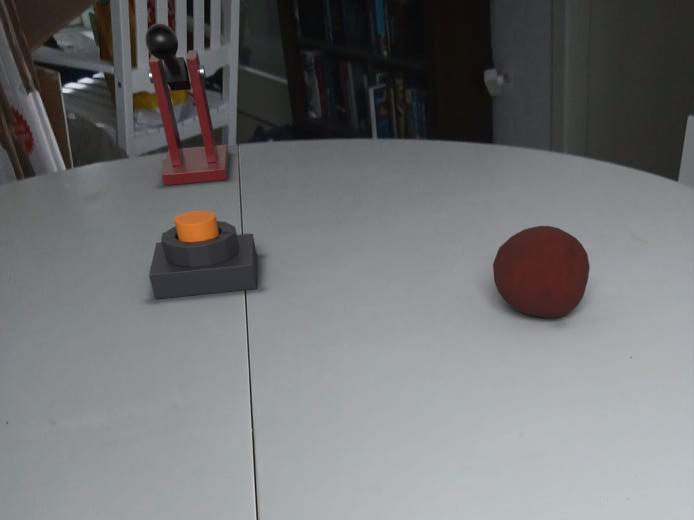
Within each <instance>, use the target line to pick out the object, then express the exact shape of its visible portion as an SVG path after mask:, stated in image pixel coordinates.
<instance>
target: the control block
mask: <svg viewBox="0 0 694 520" xmlns="http://www.w3.org/2000/svg"><path fill="white" fill-rule="evenodd" d="M216 221H217V226H218V230H219V235H218V236H216V237H215V238H212V239H208V240H205V241H196V242H184V241H179V238H178V234H177V230H176V225H175V226H172V227H171V228H169V229H168V230H166V231H164V232H162V233H161V239H160V242H156V243H155V247H154V252H153V256H152V261H151V266H150V271H149V275H148V277H149V280H150V284H151V287H152V291H153V294H154V299H155V300H161V299H171V298H181V297H190V296H200V295H209V294H210V295H211V294H219V293H229V292H238V291H240V292H241V291H248V290H256V289H257V288H258V253H257V249H256V243H255V237H254V233H245V234H237V230H236V226H234V225H233V224H231V223H228V222H226V221H220V220H216Z"/></svg>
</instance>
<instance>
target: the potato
mask: <svg viewBox="0 0 694 520" xmlns="http://www.w3.org/2000/svg"><path fill="white" fill-rule="evenodd" d="M590 267H591V266H590V261H589V255H588V253H587V251H586V249H585V247H584V245H583V244H582V243H581V242H580V241H579V240H578V238H577V237H575V236H574V235H573V234H570V233H569V232H566V231H565V230H563V229H561V228H560V227H556V226H552V225H551V226H550V225H537V226H531V227H529V228H524V229H523V230H521V231H518V232H517V233H515V234H513V235H512V236H511V237H509V238H508V239H507V240H506V241H505V242H503V243H502V244H501V245H500V246H499V247H498V250H497V253H496V254H495V258H494V260H493V263H492V270H493V281H494V284H495V287H496V290H497V292H498V293H499V295H500V296H501V297H502V299H503V300H504V301H505V303H506V304H507V305H509V306H510V307H512V309H515V310H517V311H518V312H520V313H522V314H524V315H529V316H533V317H539V318H545V319H552V318H553V319H554V318H560V317H564V316H567V315H568V314H569V313H571V312H572V311H573V310H574V309H576V308H577V306H579V305H580V303H581V301H582V299H583V298H584V295H585V291H586V288H587V285H588V281H589V275H590Z"/></svg>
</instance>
